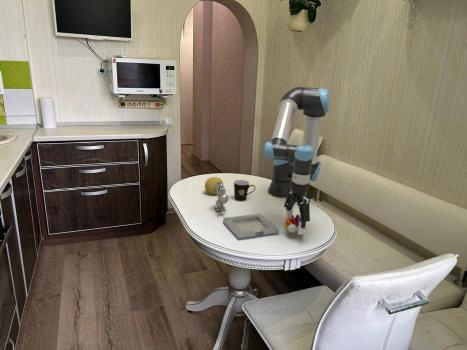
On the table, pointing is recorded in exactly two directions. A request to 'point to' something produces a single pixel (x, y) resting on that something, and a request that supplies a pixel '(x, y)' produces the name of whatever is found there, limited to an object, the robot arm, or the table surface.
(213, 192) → the fruit
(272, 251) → the table surface
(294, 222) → the colorful rounded-lobe toy
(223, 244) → the table surface
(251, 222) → the plate
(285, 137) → the robot arm
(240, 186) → the coffee mug
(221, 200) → the robot toy
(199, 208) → the table surface
